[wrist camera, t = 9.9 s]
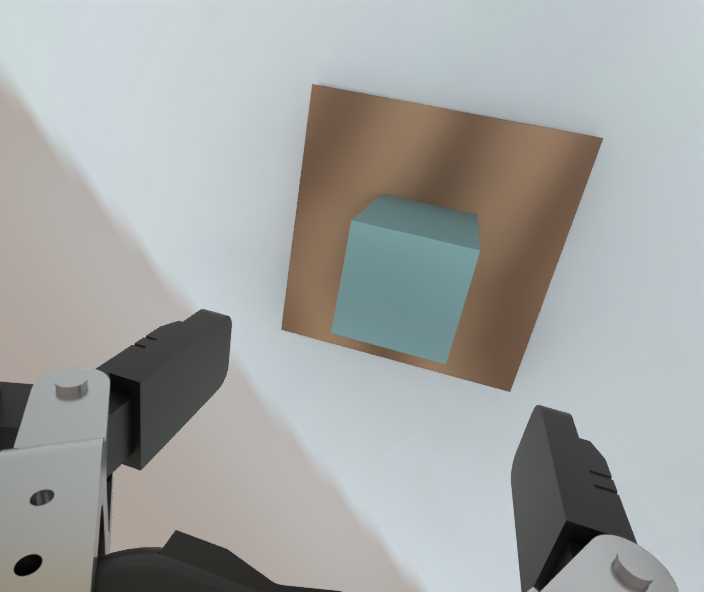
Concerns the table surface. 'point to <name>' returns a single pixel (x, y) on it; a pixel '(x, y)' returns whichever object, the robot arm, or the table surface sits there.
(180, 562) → the robot arm
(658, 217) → the table surface
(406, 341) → the teal block
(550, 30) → the table surface
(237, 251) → the table surface
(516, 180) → the walnut board
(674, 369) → the table surface
